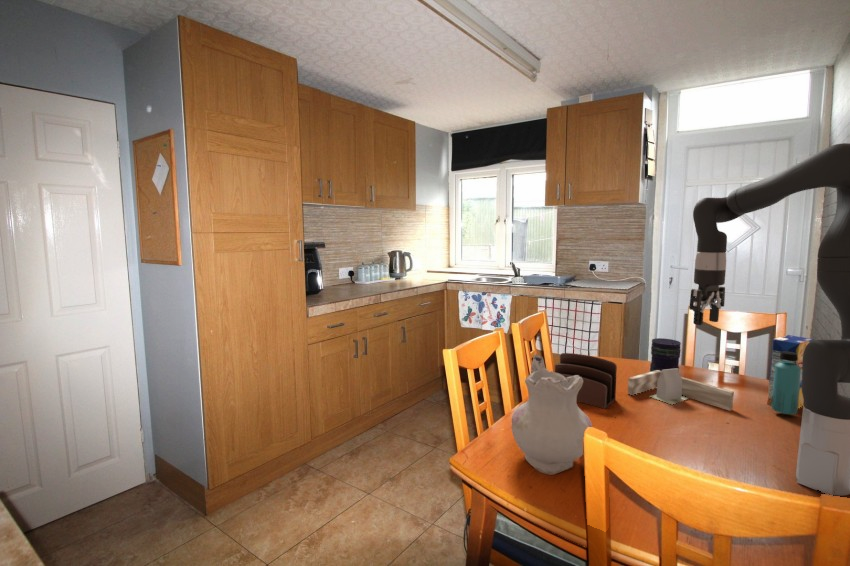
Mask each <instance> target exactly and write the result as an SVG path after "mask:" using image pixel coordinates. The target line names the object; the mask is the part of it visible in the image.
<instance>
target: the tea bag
mask: <svg viewBox="0 0 850 566" xmlns="http://www.w3.org/2000/svg"><path fill="white" fill-rule="evenodd" d="M681 377H682V376H681V373H680V367H679V368H675V369H665V370H662V371H661V374H660V376H659V378H658V380H657V388H656V394H657V395H656V397H658V398H660V399H663V400H665V401H666V400H673V399H681V396H682V379H681Z"/></svg>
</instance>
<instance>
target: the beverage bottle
mask: <svg viewBox="0 0 850 566" xmlns="http://www.w3.org/2000/svg"><path fill="white" fill-rule="evenodd" d="M780 358H781V359H783V360H788V361H797V354H796V353H793V352H788V351H782V352H781V354H780ZM800 374H801V368H800V367H799V366H798V365H797V364H795V363H792V362H786V361H781V362H778V363H776V364H775V372H774V382H773V390H772V391H773V394H772V399H771V400H772V401H771V402H772V404H771V405H770V406H771V410H773V411H775V412H777V413H781V414H784V415H796V414H798V412H799V409H798V406H799V404H798V400H799V396H800V395H799V394H800V393H799V392H800V391H799V388H800Z"/></svg>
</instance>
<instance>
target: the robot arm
mask: <svg viewBox="0 0 850 566" xmlns="http://www.w3.org/2000/svg"><path fill="white" fill-rule="evenodd" d="M820 188H832V189H836V209H835V213H834V218H833V220H832V221H831V224H830V226H829V227H828V229H827V231H826V233H825V235H824V236H823V238H822V240H821V242H820V244H819V246H818V250H817V260H816V261H817V262H816V263H817V264H816V278H817V279H816V280H817V282H818V284H819V287H820V289H821V290H822V291H823V293H824V294H825V295H826V298H828V300H829V302H830V303H831V305H832V306H833V307H834V309H835V310H836V312H837V314H838V316H839V319H840V326H841V328H840V329H841V338H840V339H814V340H813V341H811V342H809V343H808V344H807V346H806V348H805V350H804V353H803V361H802V394H803V399H804V403H803V407H802V414H801V415H802V416H801V424H800V434H799V443H798V451H797V452H798V453H797V462H796V470H795V471H796V472H795V478H796V480H797V484H800V485H803V486H805V487H807V488H810V489H813V490H814V491H817V490H819V491H821V492H820V493H822V494H824V493H825V495H827V494H830V495H834V496H839V497H840V496H848V495H850V397H848V396H845V395H842V394H840V393H839V391H838V383H841V384H850V143H849V142H848V143H845V142H843V143H836V144H833V145H831V146H828V147H826V148H823V149H821V150H820V151H818V152H816V153H814V154H812V155H810V156H808V157H807V158H805V159H802V160H801V161H800V162H797V163H796V164H794V165H791V166H789V167H787V168H786V169H783V170H782V171H779V172H777V173H775V174H772V175H771V176H768V177H766V178H763V179H761V180H756V181H754V182H753V183H750V184H747V185H743V186H741V187H738V188H736V189H734V190H732V191H731V192H730V193H729V194H728V195H727V196H724V197H702V198H701V199H699V200H698V201H697V202H696V203H695V206H694V207H693V211H692V213H693V214H692V217H693V218H692V219H693V223H694V228H695V232H696V236H697V246H696V247H697V248H696V254H695V260H694V272H693V273H694V274H693V283H694V284H695V285H698V286H697V287H698V288H697V289H696V288H692V289H691V290H690V299H689V307H688V308H689V310H691V311H693V324H694V325H695V326H697V325H698V326H702V325H703V323H704V311H705V309H706V307H709V317H708V318H709V319H708V320H709V321H710V322H711V323H717V322H719V320H720V319H719V318H720V317H719V316H720V315H719V314H720V310H721V309H722V308H724V307H725V299H726V297H725V296H726V287H725V286H724V285H725V284H726V272H727V271H726V270H727V246H728V245H727V242H728V237H727V236H728V235H727V233H725V232H723V231H720V230H719V229H718V225H717V223H718V224H719V223H720V224H721V223H728V222H730V221H734V220H736V219H738V218H740V217H742V216H743V215H745V214H749V213H753V212H756V211H760V210H762V209H765V208H768V207H771V206H773V205H775V204H777V203H779V202H781V201H782V200H784V199H785V198H787V197H789V196H792V195H794V194H796V193H799V192H804V191H809V190H813V189H820ZM819 491H818V492H819Z"/></svg>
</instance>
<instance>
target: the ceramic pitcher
mask: <svg viewBox="0 0 850 566" xmlns="http://www.w3.org/2000/svg"><path fill="white" fill-rule="evenodd" d="M532 358H533V359H532V362H531V366H530V367H531V368H530V373H529V375H528V376H527V377H526V378H525V379H524V384H525V385H526V388H527V391H528V398H527V401H526V402H523V403H522V404H520V405H519V406H518V407H516V408H515V409H514V411H513V413H512V415H511V416H512V417H511V431H512V432H511V433H512V436H513V439H514V440H515V441H514V442H515V443H516V444H517V446H518V448H519V449H520V450H521V452H523V453H524V454H525V455H524V456H523V457H524V458H525V460H526V461H527V463H528V464H530V466H532V467H533V468H534V469H535V470H536V471H537V472H539V473H542V474H545V475H547V476H549V475H550V476H551V475H557V474H558V473H561V472H564V471H567V470H569V469H571V468H573V467H574V463H575V462H574V461H576V460H578V459H579V458H580V457H582V456H583V455H584V454H585V453H583V437H584V431H585V429H586V428H587V427H593V424H592V422H591V420H590V419H591V418H590V417H589V416H588V415H587V414H586V413H585V412H584V411H583V410H582V409H581V408H580V407H579V406H578V404H577V401H576V399H577V394H578V392H579V390H580V388H581V387H582V384H583V379H582V378H581V377H579V375H574V376H570V377H567V378H565V377H564V376H563V375H561V374H559V373H556V372H555V371H550V370H549V369H547V368H546V366H545V360H544V357H543V356H541V355H538V354H536V353H534V355H532Z"/></svg>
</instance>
